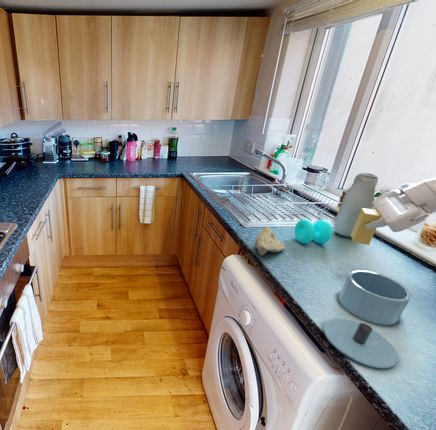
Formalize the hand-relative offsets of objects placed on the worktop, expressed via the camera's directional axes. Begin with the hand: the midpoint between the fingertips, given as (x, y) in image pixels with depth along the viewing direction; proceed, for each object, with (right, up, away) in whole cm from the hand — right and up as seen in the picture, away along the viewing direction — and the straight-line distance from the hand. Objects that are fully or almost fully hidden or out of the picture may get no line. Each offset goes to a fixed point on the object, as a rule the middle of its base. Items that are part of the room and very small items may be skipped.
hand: (363, 223), depth 90 cm
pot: (-3, -25, -5) cm, 26 cm away
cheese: (-20, -13, +21) cm, 31 cm away
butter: (0, -6, +2) cm, 6 cm away
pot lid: (-17, -30, -17) cm, 38 cm away
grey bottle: (+23, -6, +37) cm, 44 cm away
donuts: (+3, -9, +30) cm, 32 cm away
